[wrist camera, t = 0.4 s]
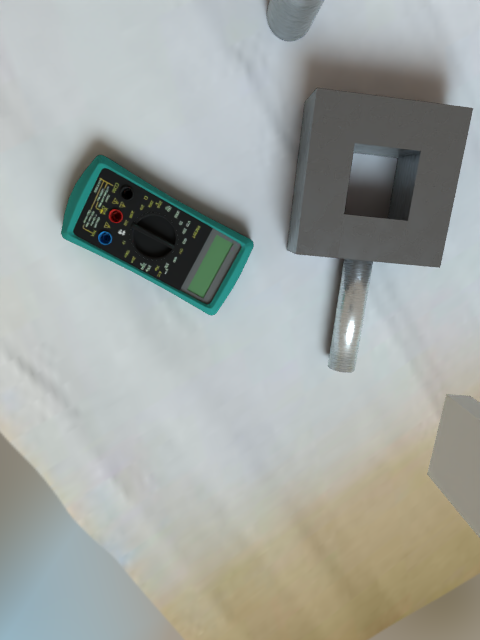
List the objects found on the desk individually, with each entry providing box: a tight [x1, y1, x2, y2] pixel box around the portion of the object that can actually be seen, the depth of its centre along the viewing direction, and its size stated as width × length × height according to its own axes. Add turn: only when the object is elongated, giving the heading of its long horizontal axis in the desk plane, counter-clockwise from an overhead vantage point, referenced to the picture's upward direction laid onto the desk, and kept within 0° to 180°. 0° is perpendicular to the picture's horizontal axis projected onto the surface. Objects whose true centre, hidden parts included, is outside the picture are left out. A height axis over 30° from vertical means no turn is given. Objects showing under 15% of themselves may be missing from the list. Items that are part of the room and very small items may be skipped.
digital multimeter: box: [61, 155, 254, 315], centre depth 35 cm, size 7×15×3 cm, turn 61°
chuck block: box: [287, 88, 473, 372], centre depth 36 cm, size 22×12×4 cm, turn 174°
